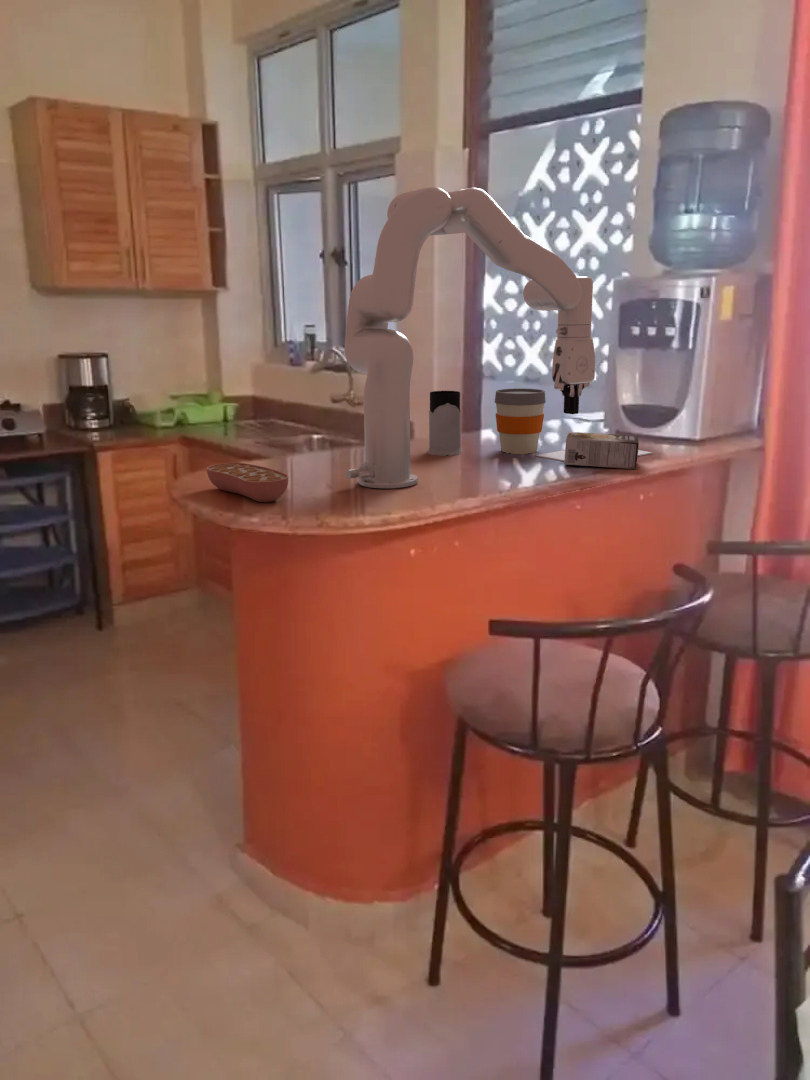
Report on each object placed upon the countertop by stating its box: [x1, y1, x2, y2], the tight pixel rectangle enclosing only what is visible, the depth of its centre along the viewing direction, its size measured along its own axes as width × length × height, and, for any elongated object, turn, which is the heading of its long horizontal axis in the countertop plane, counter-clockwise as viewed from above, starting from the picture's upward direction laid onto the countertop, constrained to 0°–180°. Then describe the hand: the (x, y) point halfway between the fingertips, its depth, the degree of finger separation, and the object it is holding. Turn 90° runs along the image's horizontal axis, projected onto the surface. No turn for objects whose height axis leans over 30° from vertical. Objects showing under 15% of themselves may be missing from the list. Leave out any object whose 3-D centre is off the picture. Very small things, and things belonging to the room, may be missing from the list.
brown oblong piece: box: [206, 462, 289, 503], centre depth 175 cm, size 23×10×5 cm, turn 40°
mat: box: [535, 449, 653, 462], centre depth 213 cm, size 24×16×1 cm, turn 127°
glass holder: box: [427, 390, 463, 457], centre depth 220 cm, size 9×14×15 cm, turn 7°
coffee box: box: [563, 431, 639, 470], centre depth 200 cm, size 9×6×16 cm
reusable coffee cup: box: [494, 388, 546, 455], centre depth 218 cm, size 13×13×15 cm
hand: (570, 413), depth 204 cm, fingers closed
